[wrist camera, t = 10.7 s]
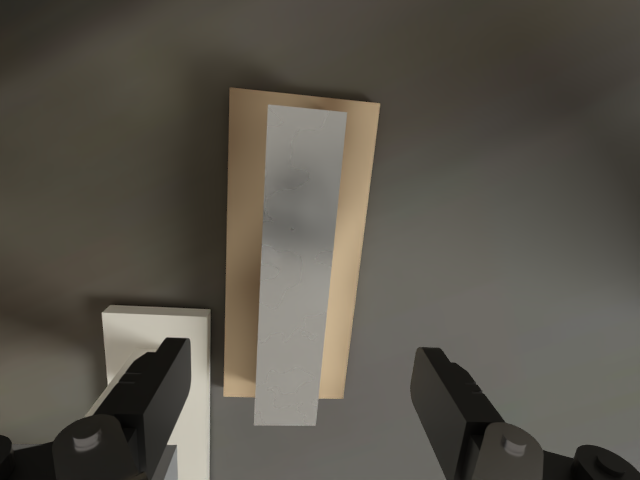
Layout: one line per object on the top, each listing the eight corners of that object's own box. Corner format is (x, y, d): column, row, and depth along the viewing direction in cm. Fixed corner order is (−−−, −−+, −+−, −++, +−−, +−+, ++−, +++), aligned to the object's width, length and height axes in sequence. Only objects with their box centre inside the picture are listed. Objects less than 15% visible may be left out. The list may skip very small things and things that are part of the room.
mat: (377, 104, 19) (380, 103, 19) (341, 392, 24) (342, 398, 24) (231, 89, 19) (229, 87, 18) (225, 390, 24) (223, 396, 23)
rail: (337, 117, 19) (347, 112, 16) (312, 384, 23) (315, 425, 20) (272, 111, 19) (268, 104, 15) (259, 383, 23) (253, 425, 20)
